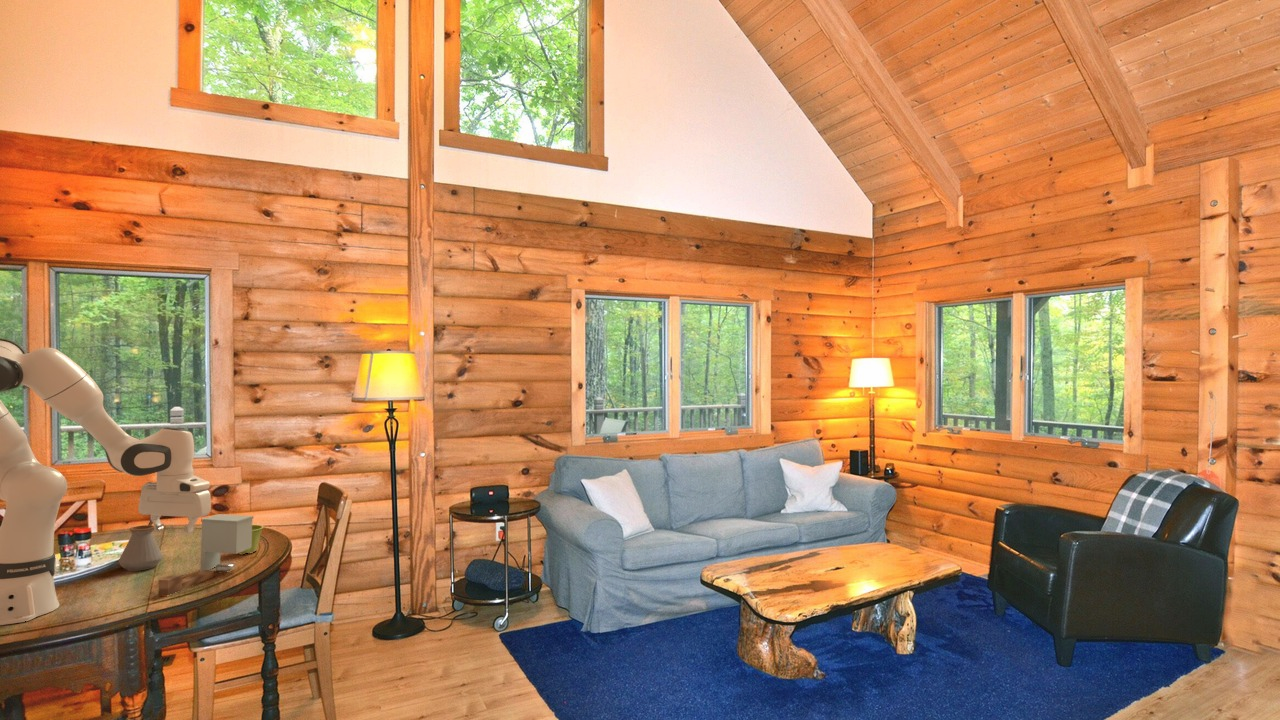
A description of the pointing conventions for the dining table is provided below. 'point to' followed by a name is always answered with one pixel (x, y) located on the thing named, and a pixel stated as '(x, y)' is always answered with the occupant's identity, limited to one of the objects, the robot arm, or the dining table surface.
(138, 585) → the dining table surface
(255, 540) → the plant pot
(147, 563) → the coffee pot
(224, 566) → the steel token
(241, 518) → the grey cube on pedestal
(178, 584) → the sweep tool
